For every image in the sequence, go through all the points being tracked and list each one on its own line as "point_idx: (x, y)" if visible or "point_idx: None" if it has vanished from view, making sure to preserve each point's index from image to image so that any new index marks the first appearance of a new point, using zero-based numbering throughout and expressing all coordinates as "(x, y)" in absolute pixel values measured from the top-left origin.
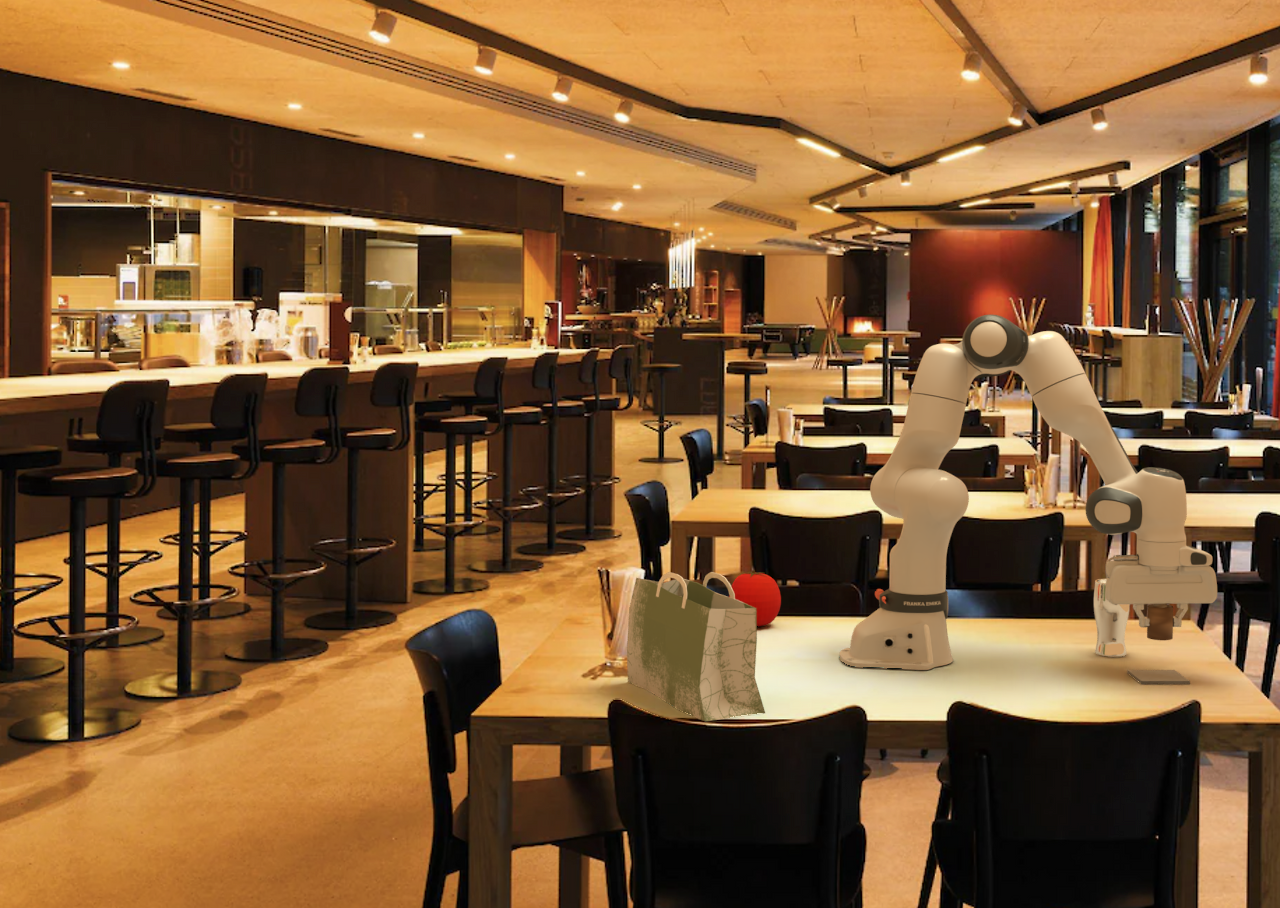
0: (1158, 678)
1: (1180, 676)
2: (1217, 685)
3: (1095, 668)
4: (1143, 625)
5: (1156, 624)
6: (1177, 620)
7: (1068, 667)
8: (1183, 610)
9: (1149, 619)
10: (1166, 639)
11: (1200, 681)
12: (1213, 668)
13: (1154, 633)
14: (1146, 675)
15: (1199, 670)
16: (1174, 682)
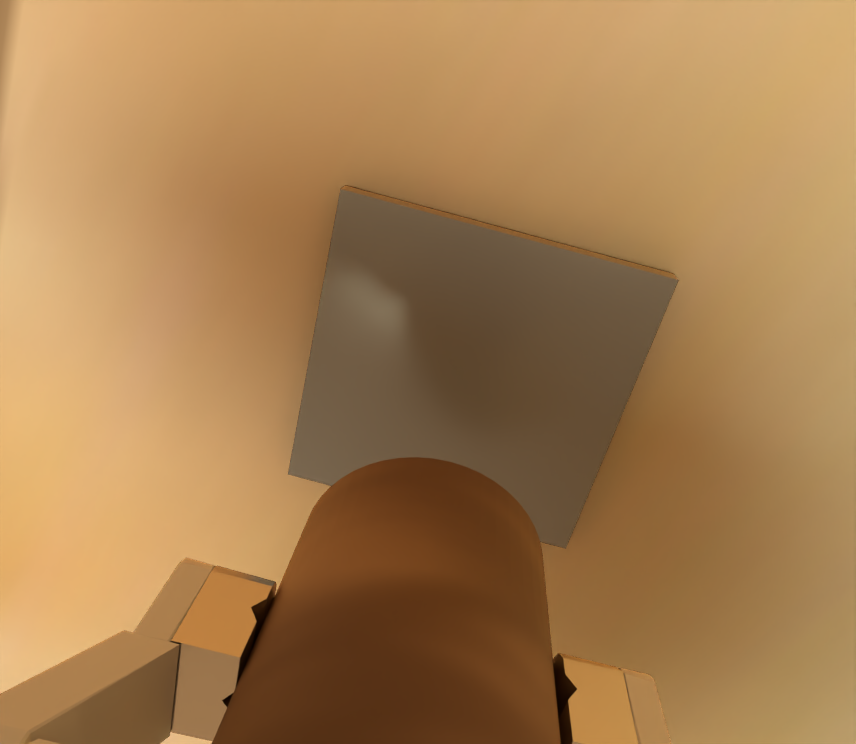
0: (513, 313)
1: (338, 321)
2: (174, 103)
3: (663, 662)
4: (638, 680)
5: (519, 617)
6: (204, 619)
7: (790, 717)
8: (43, 716)
9: (573, 730)
10: (420, 461)
11: (237, 239)
12: (30, 488)
13: (528, 553)
14: (540, 403)
15: (123, 473)
16: (450, 214)
